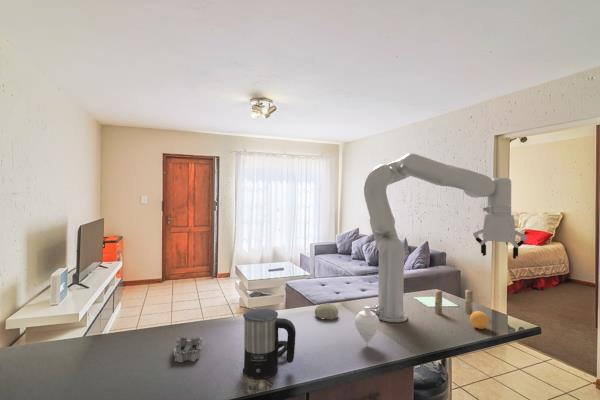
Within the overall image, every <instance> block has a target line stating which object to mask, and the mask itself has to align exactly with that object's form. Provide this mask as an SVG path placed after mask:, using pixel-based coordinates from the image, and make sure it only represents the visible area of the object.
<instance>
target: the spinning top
mask: <svg viewBox="0 0 600 400" xmlns="http://www.w3.org/2000/svg"><path fill="white" fill-rule="evenodd" d="M369 306H370V305H368V306H367V305H366V306H364V307H363V309H364V310H361V311H359V312H358V313H357V314H356V316H355V318H354V326H355V328H356V330H357V332H358V334H359V335H360V337H361V338H362V339H363V341H364V342H365V344H366V346H368V343H369V342H370V341H371V340H373V338H374V336H375V335H376V333H377V332H378V330H379V328H380V325H381V324H380V321H381V320H380V319H379V318H378V317H377V315H376V314H375V313H374V312H371V311H370V307H369Z"/></svg>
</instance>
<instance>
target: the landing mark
mask: <svg viewBox="0 0 600 400" xmlns="http://www.w3.org/2000/svg"><path fill="white" fill-rule="evenodd" d="M413 299H415V300H417V301H418V302H419V303H421V304H423V305H424V306H425V307H427V308H435V296H413ZM447 307H451V308H452V307H459V305H458V304H455V303H454V302H452V301H450V300H449V299H446V298H444V297H443V296H442V308H447Z"/></svg>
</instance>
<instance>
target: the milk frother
mask: <svg viewBox="0 0 600 400" xmlns="http://www.w3.org/2000/svg"><path fill="white" fill-rule="evenodd" d="M278 316H279V313H278V311H276V310H274V309H269V308H261V309H260V308H258V309H257V308H255V309H252V310H248V311H246V312H244V313H243V315H242V317H243V319H244V322H243V323H244V331H243V332H244V337H243V339H244V340H243V341H244V348H243V349H244V357H243V362H244V363H243V367H242V372H243V374H244V376H246V377H248V378H250V379H255V380H260V379H261V380H262V379H268V378H270V377H272V376H275V374H277V372H278V370H279V366H278V365H279V359H280V357H281V356H283V355H284V354H285V353H286V356H285V357H286V362H287V363H288V364H291V363H293V361H294V359H295V350H296V349H295V348H296V336H297V335H296V327H295V324H294V323H293V322H292V321H291V320H289V319H288V318H282V317H281V318H280V317H278ZM279 329H284V330H285V331H286V333H287V340H279ZM280 348H282V349H280Z"/></svg>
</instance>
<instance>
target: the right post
mask: <svg viewBox="0 0 600 400" xmlns="http://www.w3.org/2000/svg"><path fill="white" fill-rule="evenodd" d="M473 294H474V292H473V290H471V289H465V293H464V295H465V301H464V302H465V304H464V305H465V307H464V309H465V311H464V312H465V313H466V314H469V315H471V314H472V313H473V305H474V304H473V301H474V300H473V299H474V298H473Z"/></svg>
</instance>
